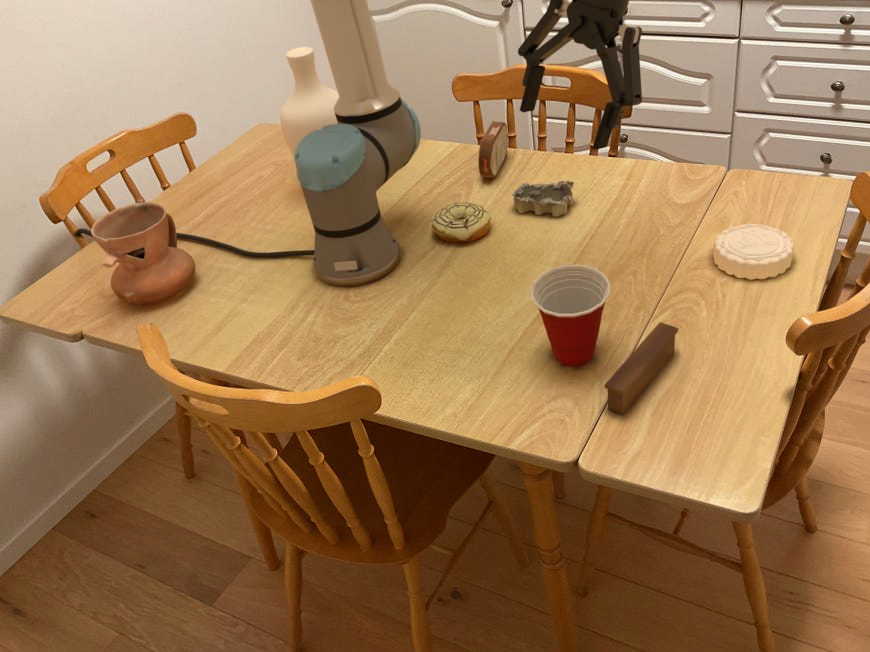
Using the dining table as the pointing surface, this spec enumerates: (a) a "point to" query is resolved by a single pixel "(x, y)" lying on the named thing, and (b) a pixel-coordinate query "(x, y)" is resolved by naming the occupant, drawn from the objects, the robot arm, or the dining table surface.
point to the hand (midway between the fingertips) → (562, 128)
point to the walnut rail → (640, 368)
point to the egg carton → (544, 198)
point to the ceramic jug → (143, 253)
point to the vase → (306, 100)
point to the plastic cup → (571, 310)
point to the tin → (493, 149)
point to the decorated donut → (461, 222)
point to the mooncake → (753, 251)
